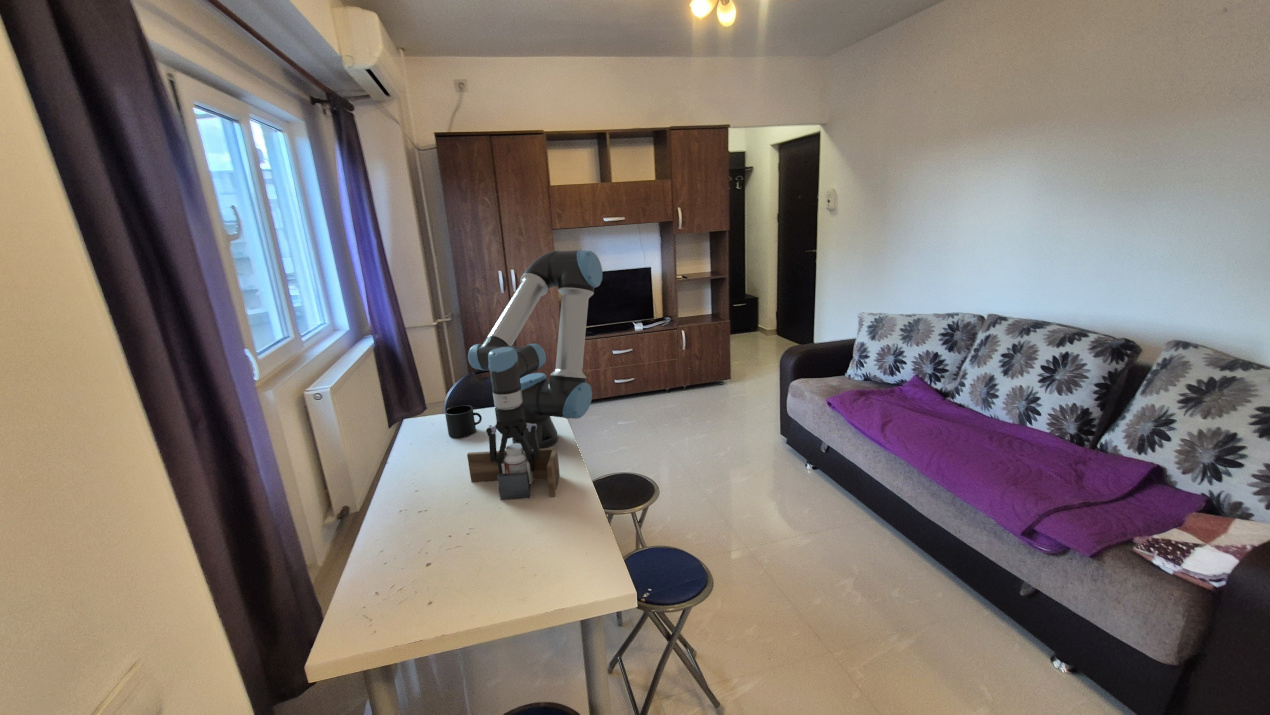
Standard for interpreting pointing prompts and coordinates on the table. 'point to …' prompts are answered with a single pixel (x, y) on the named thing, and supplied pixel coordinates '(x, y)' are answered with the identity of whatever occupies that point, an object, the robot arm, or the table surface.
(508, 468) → the pill bottle
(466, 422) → the mug
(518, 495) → the dark rectangular block
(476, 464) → the wooden corner wall
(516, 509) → the table surface
